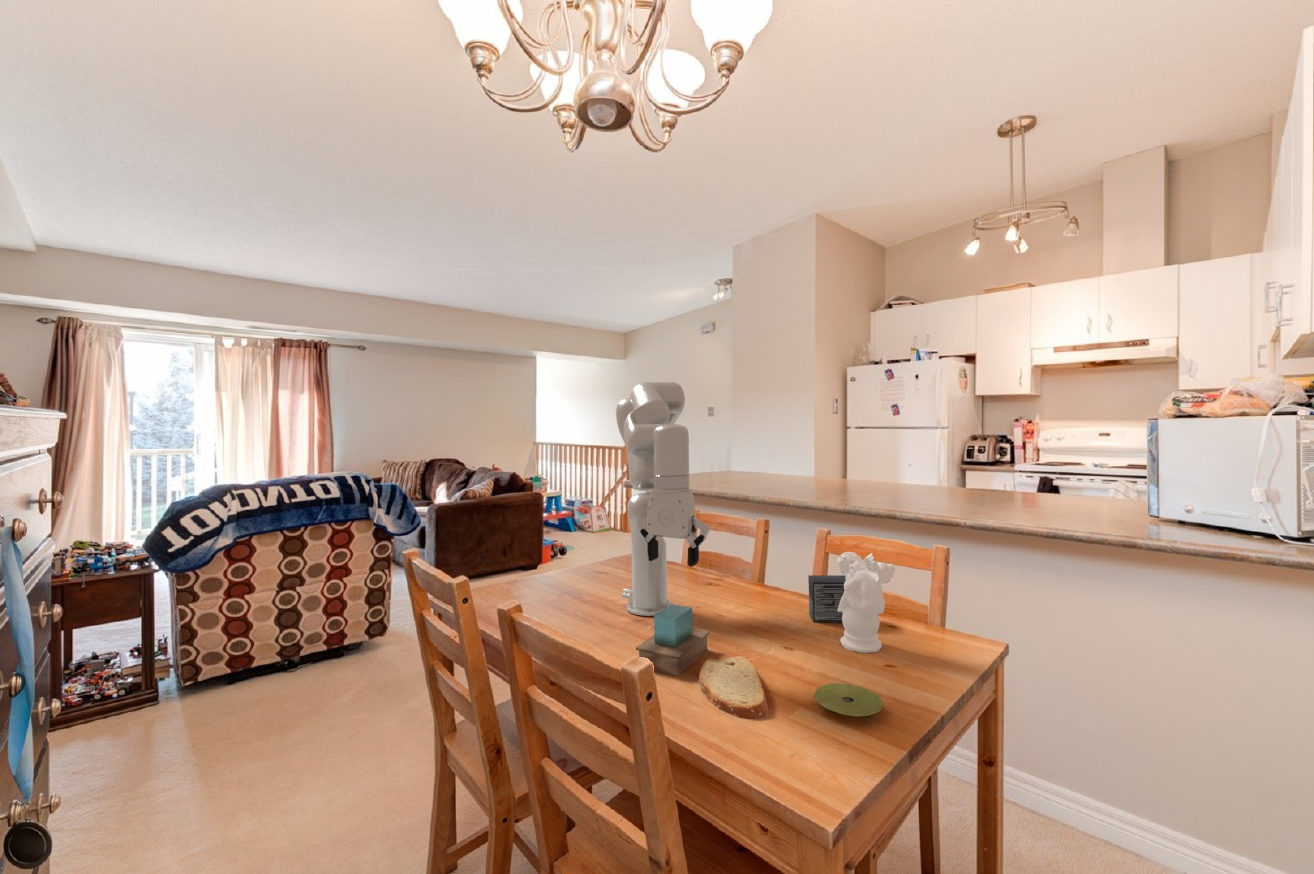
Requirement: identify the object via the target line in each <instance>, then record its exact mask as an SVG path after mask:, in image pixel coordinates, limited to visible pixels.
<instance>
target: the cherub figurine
mask: <svg viewBox="0 0 1314 874" xmlns="http://www.w3.org/2000/svg"><path fill="white" fill-rule="evenodd" d="M863 561H864V562H863ZM836 563H837V565H838V567H839V568H838V569H839V570H840V573H841V575H846V581H845V583H844V590H845V591H844V594H843V596H842V598H841V600H840V604H839V607H838V610H837V611H838V612H842V613H843V615H842V623H841V624H842V625H843V628H844V630H843V635H842V636H841V637H840V644H841V645H842V646H843V648H844V649H846V650H848V651H852V652H858V653H861V654H869V653H878V652H879V651H880V650H881V649H882V647H883V645H882V642H881V640H880V639H879V634H878V631H879V628H880V617H879V615H881V614H883V613H884V612H885V608H886V607H885V604H886V603H885V597H884V594H883V587H882V584H888V583H890V582H891V580H892V578H893V577H894V573H896V572H895V570H896V567H895V566H894V564H893V563H889V564H887V563H883V562H878V561H876V560H875V557H874V554H873V552H872V553H870V554H868V555H867V556H865V557H864V560H862V557H861V556H860V555H858V554H857V553H856V552H852V551H845V552H843V553H841V554H840V555H839V557H838V558H837V559H836Z"/></svg>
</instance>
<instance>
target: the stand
mask: <svg viewBox="0 0 1314 874" xmlns="http://www.w3.org/2000/svg"><path fill="white" fill-rule="evenodd" d="M709 635H711V631H709V630H705V629H699V628H695V627H693V635H692V636H690V637H689V638H688V639H687V640H685V641H684V642H683V643H681V644H680V645H679V646H678V647H676V648H672V647H668V646H663V645H659V644H655V639H654V634H653V635H652V636H650V637H649V638H647V639H646V640H645V641H643V642H642V643H640V644H638V645H637V646H636V647H635V650H636V651H638V656H639V657H645V658H648V659H649V660H650V661H651V662H653V665H654V669H655V670H654V671H658V672H663V673H666V674H670V675H674V676H679V675H680V674H681V673H682V672H684V671H685V670H686V669H687V668H688V667H689V666H691V665H692V664H693V663H694V662H695V661H697V659H698V658H699V657H701V656H702V654H704V653H705V652H706V651H707V650H708V636H709Z"/></svg>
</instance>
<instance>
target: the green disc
mask: <svg viewBox="0 0 1314 874" xmlns="http://www.w3.org/2000/svg"><path fill="white" fill-rule="evenodd" d="M814 698H815V700H816V701H817V703H818V704H820V705H821V706H822V707H824V708H826V709H827V710H829V711H832V712H836V713H838V714H841V715H843V716H852V717H853V716H854V717H867V716H872V715H874V714H877V713H879V712H880V711H881V710H883V709H882V708H883V706H884V702H883V700H882V698H881V697H880V696H879V695H877V694H876V693H875V692H873V691H872V690H869V689H868V688H867V689H866V688H864V687H863V686H860V685H859V686H858V685H855V684H848V683H841V682H833V683H828V684H827V683H826V684H822V685H821V686H819V687H816V689H815V691H814Z"/></svg>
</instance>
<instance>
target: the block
mask: <svg viewBox="0 0 1314 874" xmlns="http://www.w3.org/2000/svg"><path fill="white" fill-rule="evenodd" d="M653 624H654V625H653V631H654V632H653V633H654V634H653V635H654V639H655V644H659V645H663V646H668V647H672V648H676V647H678V646H679V645H680V644H681V643H683V642H684V641H685V640H687V639H688V638H689V637H690V636H692V635H693V628H694V626H693V607H691V606H685V605H680V604H676V603H675V604H674V603H673V604H671V605H670V606H668V607H667V608H665V609H663V610H662V611H660V612H659V613H657V614H655V615H654V616H653Z"/></svg>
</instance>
